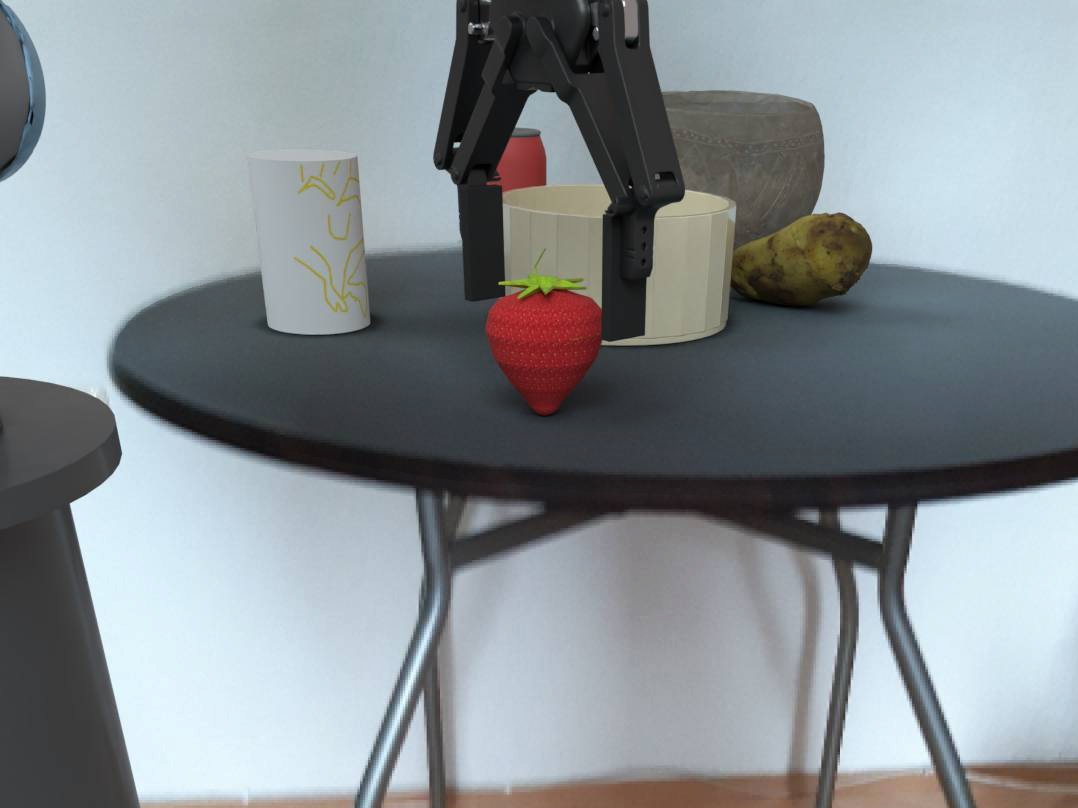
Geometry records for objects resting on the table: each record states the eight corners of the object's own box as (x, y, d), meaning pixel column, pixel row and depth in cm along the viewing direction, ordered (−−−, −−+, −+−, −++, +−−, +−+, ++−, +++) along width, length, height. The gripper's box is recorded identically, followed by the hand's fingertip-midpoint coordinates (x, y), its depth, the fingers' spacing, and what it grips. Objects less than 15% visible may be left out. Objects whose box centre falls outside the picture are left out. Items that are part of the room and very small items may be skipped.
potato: (785, 290, 112) (795, 195, 107) (878, 318, 103) (893, 216, 98) (713, 298, 108) (720, 200, 103) (803, 328, 99) (815, 222, 94)
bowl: (755, 298, 108) (772, 108, 100) (564, 270, 117) (565, 93, 109) (843, 265, 123) (864, 97, 115) (668, 242, 132) (676, 85, 124)
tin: (599, 357, 89) (602, 225, 84) (453, 311, 101) (448, 193, 96) (774, 325, 100) (786, 206, 95) (623, 286, 112) (626, 178, 107)
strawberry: (616, 425, 75) (621, 253, 69) (499, 433, 73) (495, 256, 68) (589, 399, 80) (592, 236, 74) (478, 406, 78) (473, 239, 72)
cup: (322, 339, 92) (304, 163, 85) (246, 324, 95) (223, 154, 88) (391, 320, 97) (379, 155, 91) (316, 307, 101) (300, 146, 94)
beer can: (466, 267, 117) (461, 128, 111) (518, 260, 121) (516, 125, 114) (507, 278, 113) (505, 134, 107) (560, 270, 117) (561, 131, 110)
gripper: (774, -129, 55) (739, 346, 67) (466, -104, 71) (481, 278, 83) (655, -141, 51) (640, 367, 63) (356, -112, 67) (389, 291, 79)
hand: (550, 317), depth 73 cm, fingers open, 13 cm apart
